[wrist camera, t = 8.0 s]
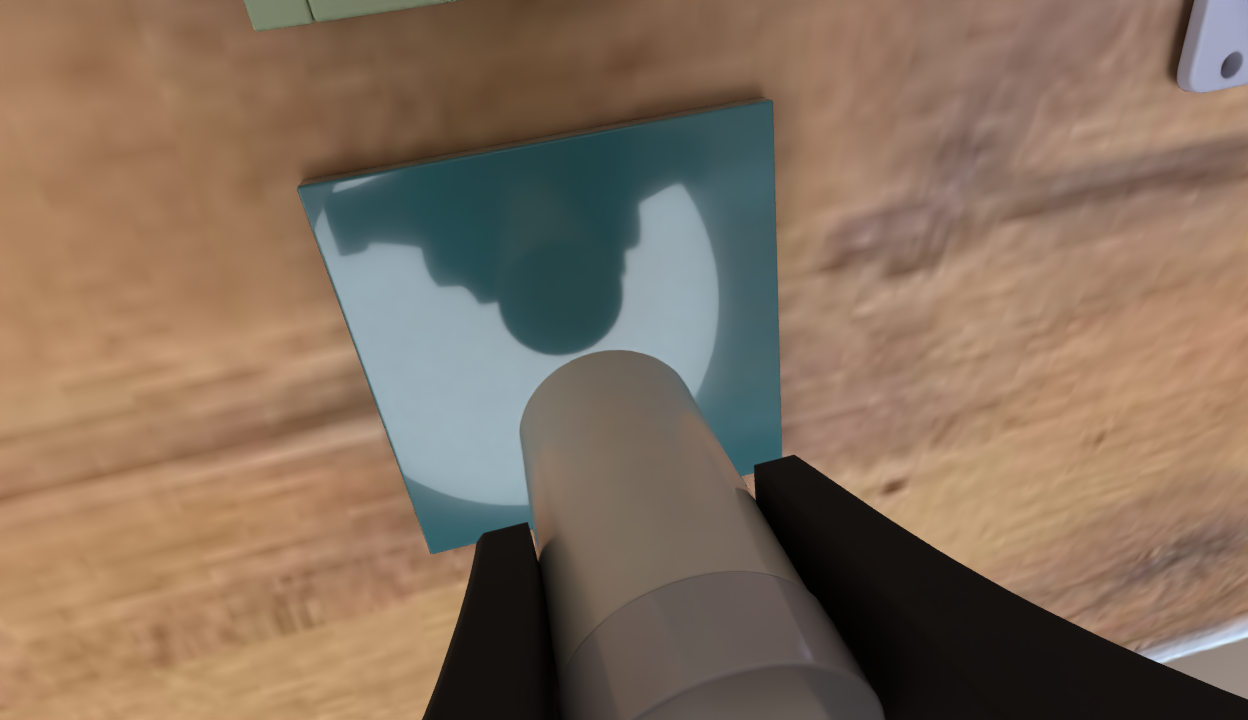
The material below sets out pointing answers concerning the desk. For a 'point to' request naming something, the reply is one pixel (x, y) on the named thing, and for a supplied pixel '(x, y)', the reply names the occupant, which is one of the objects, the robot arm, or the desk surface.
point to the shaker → (667, 562)
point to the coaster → (555, 290)
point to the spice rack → (320, 10)
